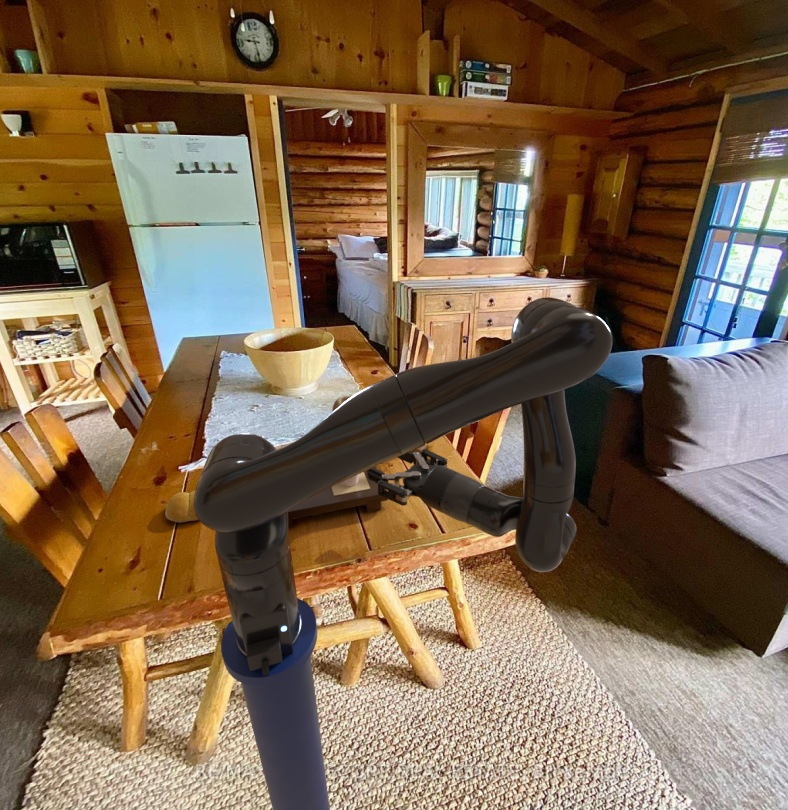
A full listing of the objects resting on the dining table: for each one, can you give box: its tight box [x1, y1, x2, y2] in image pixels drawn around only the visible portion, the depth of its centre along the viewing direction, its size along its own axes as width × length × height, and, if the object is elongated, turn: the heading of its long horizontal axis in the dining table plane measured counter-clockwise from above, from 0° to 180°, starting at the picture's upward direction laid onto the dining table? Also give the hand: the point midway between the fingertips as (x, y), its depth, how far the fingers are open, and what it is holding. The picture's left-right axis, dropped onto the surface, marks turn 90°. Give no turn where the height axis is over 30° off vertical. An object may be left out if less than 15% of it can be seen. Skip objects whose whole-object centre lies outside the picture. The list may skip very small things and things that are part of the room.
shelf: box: [288, 466, 389, 529], centre depth 93 cm, size 12×24×4 cm, turn 109°
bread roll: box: [164, 490, 199, 523], centre depth 90 cm, size 8×9×4 cm
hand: (383, 461), depth 84 cm, fingers open, 8 cm apart
